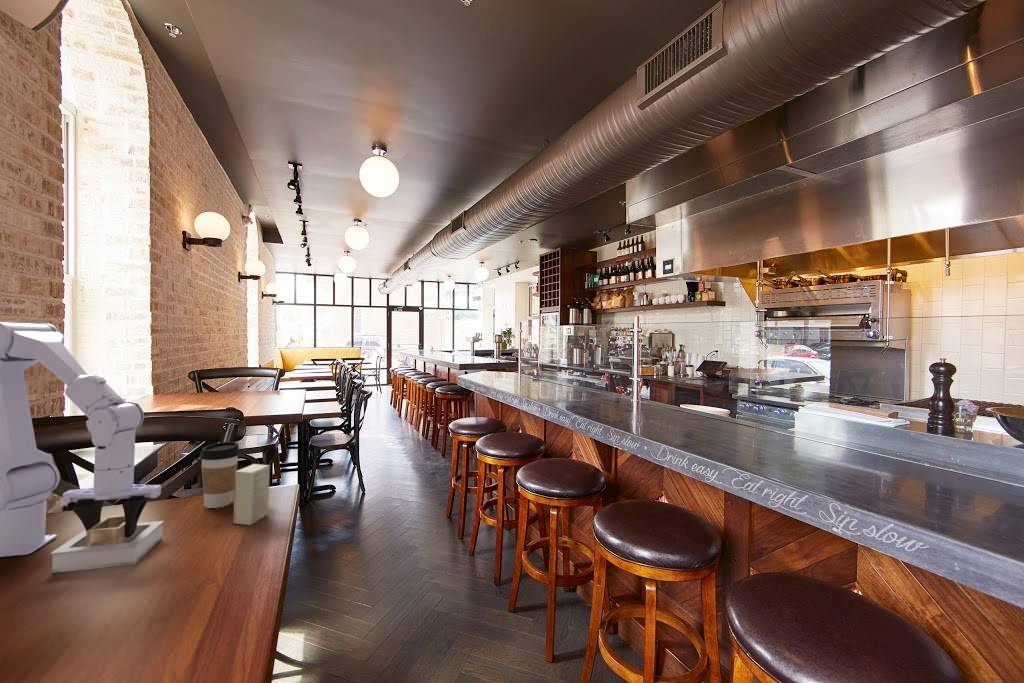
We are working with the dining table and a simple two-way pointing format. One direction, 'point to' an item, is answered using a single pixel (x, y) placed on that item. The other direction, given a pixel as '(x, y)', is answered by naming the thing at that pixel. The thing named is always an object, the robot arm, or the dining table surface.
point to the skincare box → (251, 493)
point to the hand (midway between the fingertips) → (112, 536)
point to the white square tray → (106, 550)
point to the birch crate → (109, 532)
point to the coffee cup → (219, 473)
